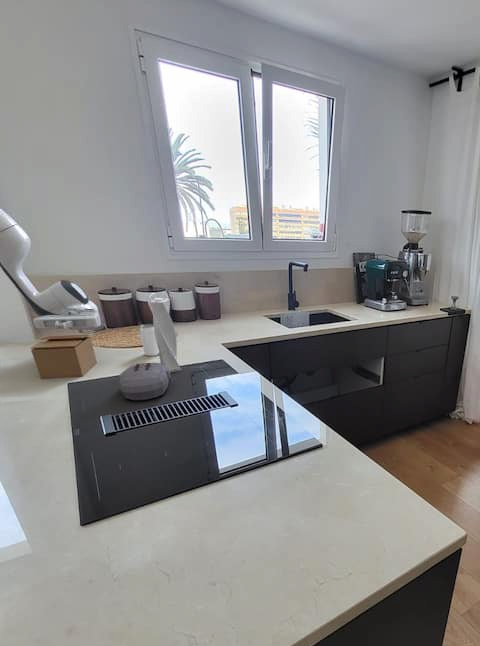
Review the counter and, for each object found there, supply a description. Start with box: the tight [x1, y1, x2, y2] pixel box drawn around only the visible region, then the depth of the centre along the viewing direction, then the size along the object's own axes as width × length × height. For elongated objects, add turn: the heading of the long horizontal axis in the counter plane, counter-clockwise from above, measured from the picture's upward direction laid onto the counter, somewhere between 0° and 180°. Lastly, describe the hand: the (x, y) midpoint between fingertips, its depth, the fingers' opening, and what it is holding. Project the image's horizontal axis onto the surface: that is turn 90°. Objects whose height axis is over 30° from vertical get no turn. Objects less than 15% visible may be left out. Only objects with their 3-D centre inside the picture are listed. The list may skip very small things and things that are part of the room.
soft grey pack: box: [118, 362, 172, 401], centre depth 128 cm, size 15×8×20 cm
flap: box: [39, 334, 91, 341], centre depth 143 cm, size 7×13×1 cm, turn 105°
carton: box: [30, 336, 98, 380], centre depth 142 cm, size 15×13×11 cm
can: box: [139, 323, 159, 357], centre depth 162 cm, size 6×6×12 cm
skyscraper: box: [147, 292, 183, 374], centre depth 143 cm, size 8×8×28 cm
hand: (59, 326), depth 140 cm, fingers closed
